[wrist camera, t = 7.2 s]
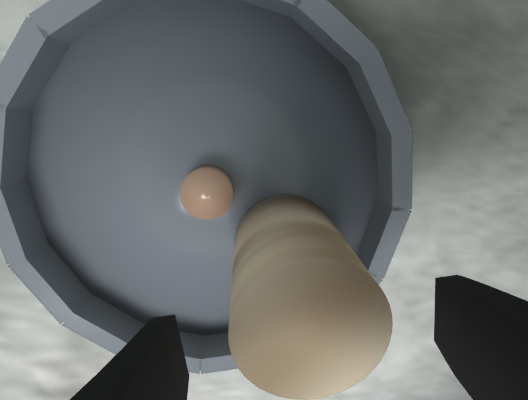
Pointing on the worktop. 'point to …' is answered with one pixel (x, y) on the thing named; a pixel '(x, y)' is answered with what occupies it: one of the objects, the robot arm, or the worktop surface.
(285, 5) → the round tray
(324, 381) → the beige cylinder
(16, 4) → the worktop surface
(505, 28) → the worktop surface
